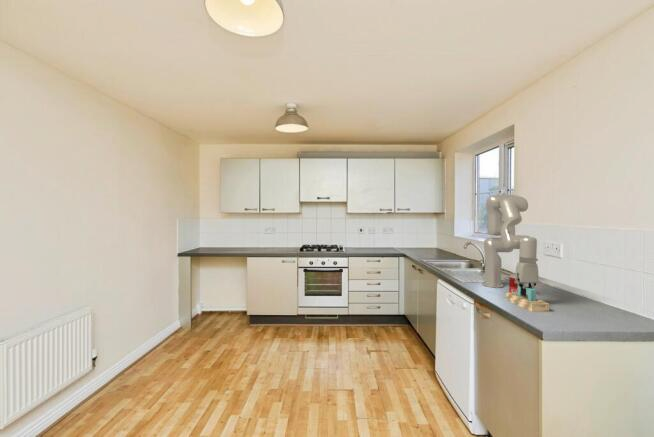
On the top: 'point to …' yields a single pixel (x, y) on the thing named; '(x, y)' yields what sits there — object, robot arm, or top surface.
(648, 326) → the top surface
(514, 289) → the canned food
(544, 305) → the tan slotted block
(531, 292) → the teal long block
